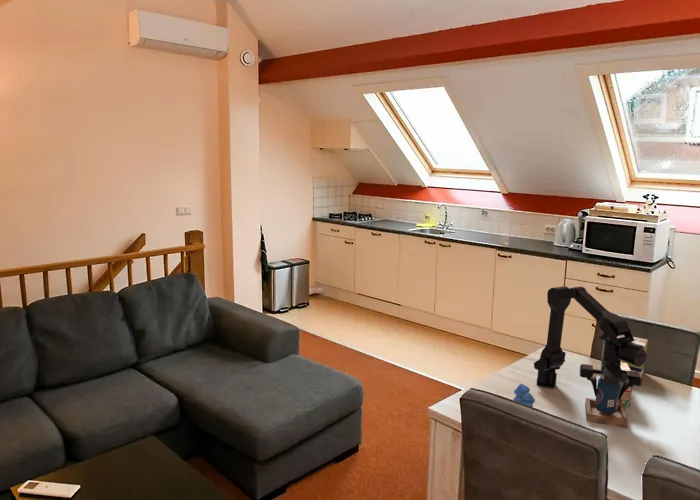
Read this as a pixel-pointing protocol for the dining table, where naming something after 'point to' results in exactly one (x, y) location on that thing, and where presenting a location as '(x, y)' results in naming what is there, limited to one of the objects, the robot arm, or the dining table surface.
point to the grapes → (524, 395)
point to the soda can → (607, 397)
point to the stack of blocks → (627, 394)
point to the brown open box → (606, 415)
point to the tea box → (644, 344)
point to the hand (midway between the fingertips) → (607, 397)
